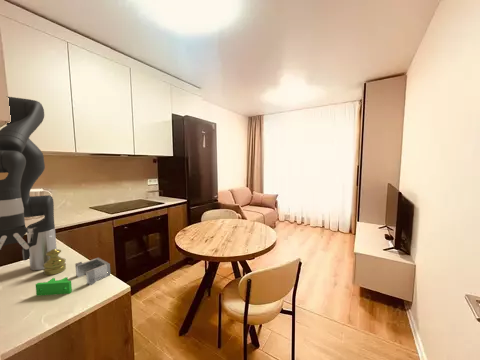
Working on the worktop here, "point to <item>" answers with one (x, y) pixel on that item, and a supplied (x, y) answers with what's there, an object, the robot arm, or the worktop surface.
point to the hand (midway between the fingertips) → (11, 263)
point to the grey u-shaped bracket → (93, 270)
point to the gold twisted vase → (54, 263)
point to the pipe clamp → (54, 287)
